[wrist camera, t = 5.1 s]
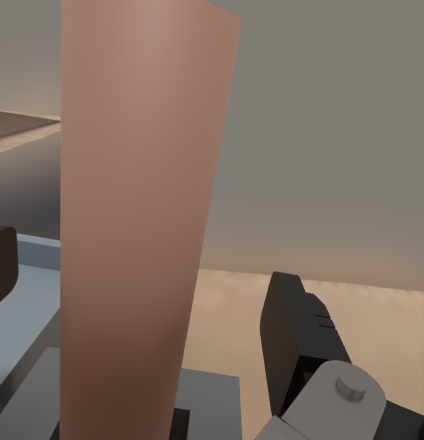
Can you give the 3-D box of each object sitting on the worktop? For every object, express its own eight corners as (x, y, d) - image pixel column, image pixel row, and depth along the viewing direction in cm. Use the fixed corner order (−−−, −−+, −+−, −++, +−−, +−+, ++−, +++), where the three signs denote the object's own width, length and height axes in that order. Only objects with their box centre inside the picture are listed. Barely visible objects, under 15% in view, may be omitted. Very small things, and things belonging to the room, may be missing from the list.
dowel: (160, 480, 14) (238, 37, 8) (142, 591, 11) (246, 3, 5) (81, 468, 14) (100, 11, 8) (40, 576, 11) (21, -39, 5)
